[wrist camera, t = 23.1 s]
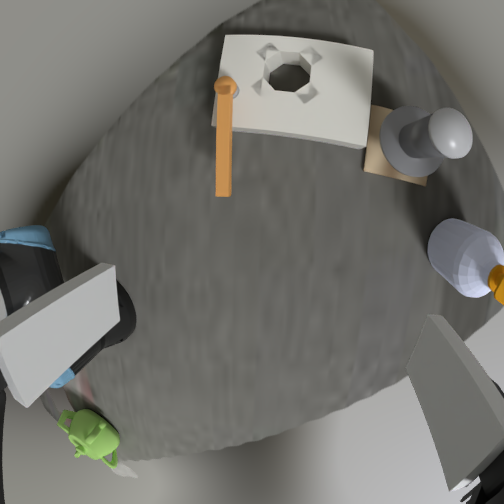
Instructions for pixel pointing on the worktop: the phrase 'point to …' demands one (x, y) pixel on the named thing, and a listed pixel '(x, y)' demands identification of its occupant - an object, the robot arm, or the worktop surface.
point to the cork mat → (374, 154)
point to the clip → (224, 134)
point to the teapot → (91, 435)
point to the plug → (423, 139)
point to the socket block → (306, 98)
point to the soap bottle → (468, 258)
